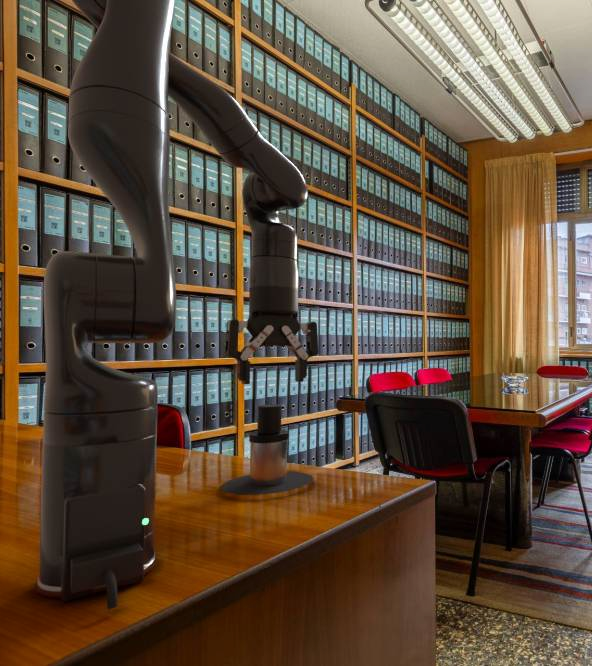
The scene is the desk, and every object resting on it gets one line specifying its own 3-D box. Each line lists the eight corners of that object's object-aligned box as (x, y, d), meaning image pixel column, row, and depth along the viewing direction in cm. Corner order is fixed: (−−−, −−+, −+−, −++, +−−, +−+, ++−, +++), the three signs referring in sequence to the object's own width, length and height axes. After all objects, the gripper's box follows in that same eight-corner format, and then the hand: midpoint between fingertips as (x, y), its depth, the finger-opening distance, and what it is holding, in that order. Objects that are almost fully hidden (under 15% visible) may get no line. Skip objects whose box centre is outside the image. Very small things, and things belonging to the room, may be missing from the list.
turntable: (327, 488, 83) (327, 482, 83) (236, 507, 73) (236, 500, 73) (293, 472, 93) (293, 467, 93) (209, 487, 83) (209, 481, 83)
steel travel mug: (293, 482, 83) (294, 405, 83) (255, 489, 79) (257, 408, 79) (275, 472, 89) (276, 401, 89) (238, 478, 85) (240, 404, 85)
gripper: (308, 291, 91) (307, 380, 91) (221, 285, 82) (220, 383, 81) (324, 287, 86) (323, 382, 85) (233, 280, 76) (231, 386, 76)
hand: (273, 382), depth 83 cm, fingers open, 8 cm apart
